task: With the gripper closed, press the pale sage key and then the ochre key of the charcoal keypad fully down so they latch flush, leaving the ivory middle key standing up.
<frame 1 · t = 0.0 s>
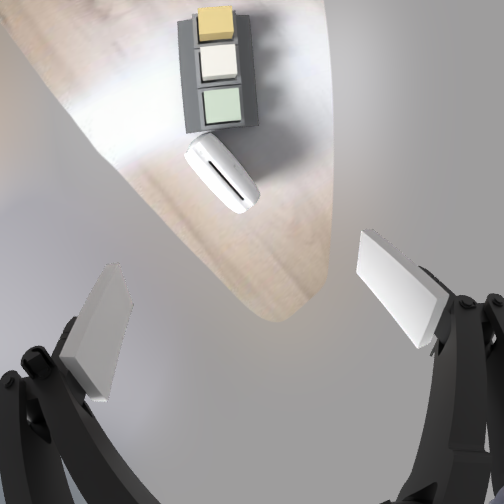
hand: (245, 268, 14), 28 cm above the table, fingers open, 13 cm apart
key sage: (221, 106, 29), point 6 cm above the table, slide at 0.0 cm
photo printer: (220, 162, 38), on the table
key ivory: (218, 62, 26), point 6 cm above the table, slide at 0.0 cm
keypad: (217, 71, 32), on the table
key ochre: (215, 23, 24), point 6 cm above the table, slide at 0.0 cm
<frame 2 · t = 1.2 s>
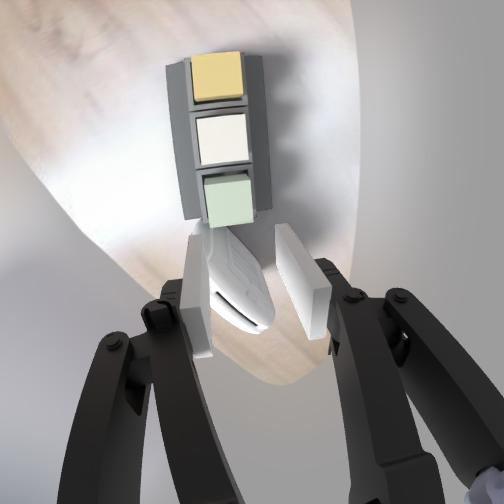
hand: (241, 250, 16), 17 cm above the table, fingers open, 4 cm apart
key sage: (228, 199, 25), point 6 cm above the table, slide at 0.0 cm
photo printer: (226, 247, 34), on the table
key ivory: (222, 138, 23), point 6 cm above the table, slide at 0.0 cm
keypad: (219, 135, 28), on the table
key ochre: (216, 76, 20), point 6 cm above the table, slide at 0.0 cm
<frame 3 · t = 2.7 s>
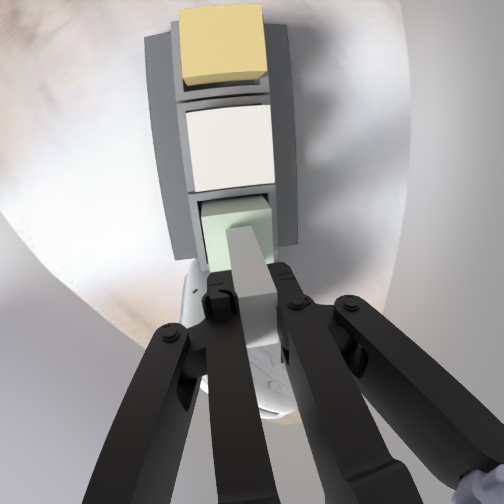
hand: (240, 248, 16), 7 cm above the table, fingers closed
key sage: (237, 234, 18), point 5 cm above the table, slide at 1.2 cm, touching gripper
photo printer: (232, 291, 26), on the table
key ivory: (229, 145, 14), point 6 cm above the table, slide at 0.0 cm
keypad: (224, 138, 19), on the table
key ochre: (221, 44, 11), point 6 cm above the table, slide at 0.0 cm
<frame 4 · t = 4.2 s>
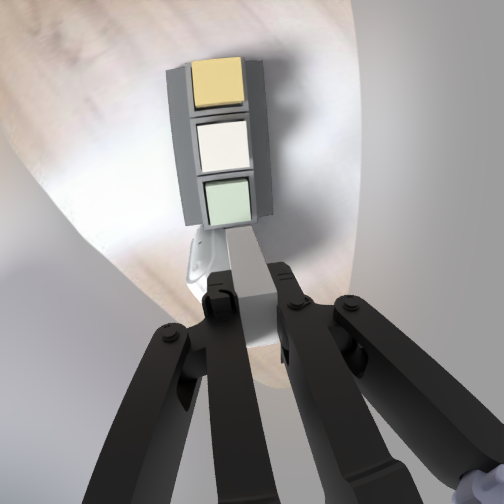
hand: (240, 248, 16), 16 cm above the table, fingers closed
key sage: (227, 199, 27), point 4 cm above the table, slide at 2.4 cm
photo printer: (226, 253, 34), on the table
key ivory: (223, 145, 23), point 6 cm above the table, slide at 0.0 cm
keypad: (220, 141, 28), on the table
key ochre: (217, 82, 20), point 6 cm above the table, slide at 0.0 cm
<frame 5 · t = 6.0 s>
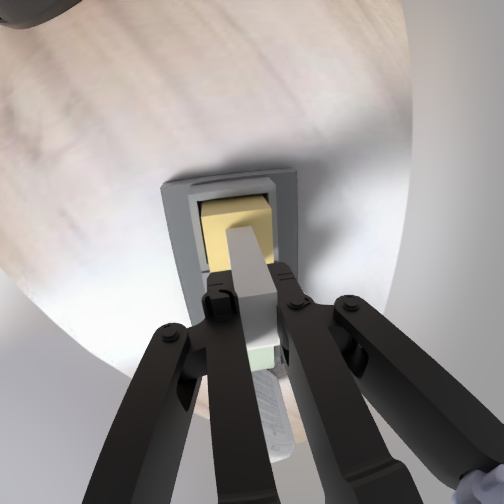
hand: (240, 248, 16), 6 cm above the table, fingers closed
key sage: (249, 346, 24), point 4 cm above the table, slide at 2.4 cm
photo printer: (243, 367, 31), on the table
key ivory: (247, 315, 19), point 6 cm above the table, slide at 0.0 cm
keypad: (238, 272, 24), on the table
key ochre: (237, 234, 18), point 5 cm above the table, slide at 1.3 cm, touching gripper
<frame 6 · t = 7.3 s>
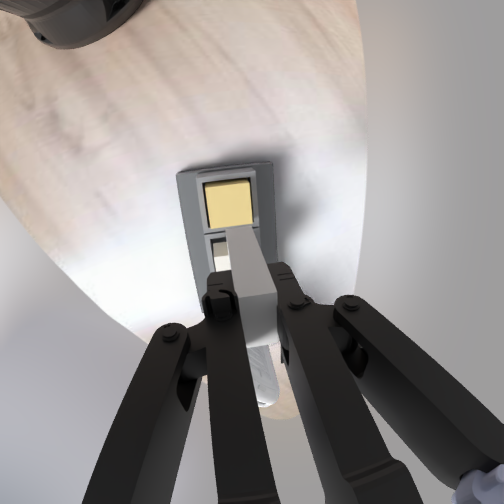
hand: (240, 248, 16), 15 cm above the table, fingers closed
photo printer: (237, 327, 38), on the table
key ivory: (236, 265, 27), point 6 cm above the table, slide at 0.0 cm
keypad: (231, 240, 32), on the table
key ochre: (228, 201, 26), point 4 cm above the table, slide at 2.4 cm
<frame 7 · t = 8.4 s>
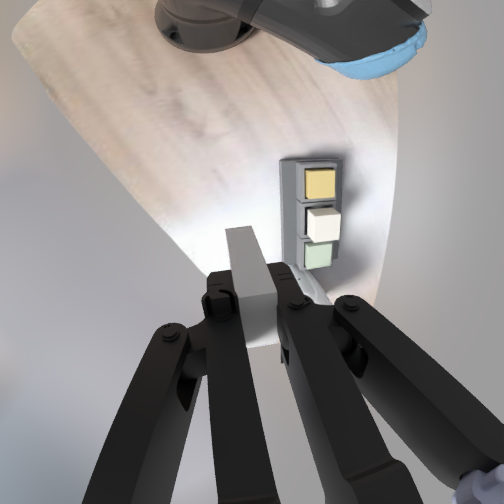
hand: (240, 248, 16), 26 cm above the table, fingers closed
key sage: (316, 252, 44), point 4 cm above the table, slide at 2.4 cm
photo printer: (303, 281, 51), on the table
key ivory: (323, 224, 39), point 6 cm above the table, slide at 0.0 cm
keypad: (310, 211, 44), on the table
key ochre: (318, 182, 39), point 4 cm above the table, slide at 2.4 cm
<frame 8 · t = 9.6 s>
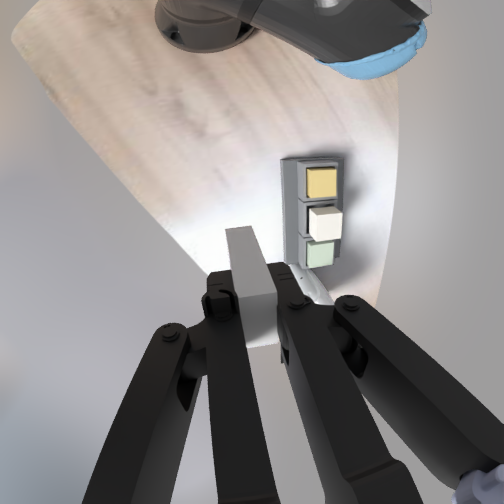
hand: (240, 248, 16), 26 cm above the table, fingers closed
key sage: (318, 251, 44), point 4 cm above the table, slide at 2.4 cm
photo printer: (305, 279, 51), on the table
key ivory: (325, 223, 39), point 6 cm above the table, slide at 0.0 cm
keypad: (311, 210, 44), on the table
key ochre: (319, 181, 38), point 4 cm above the table, slide at 2.4 cm
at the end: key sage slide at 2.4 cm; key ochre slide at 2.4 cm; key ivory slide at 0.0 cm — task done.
